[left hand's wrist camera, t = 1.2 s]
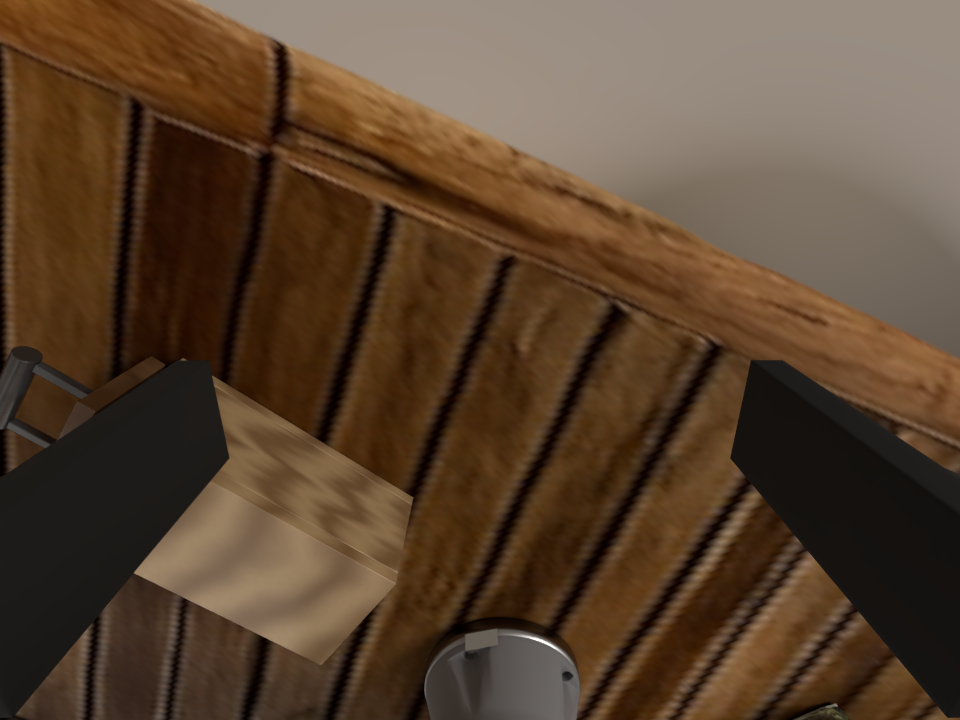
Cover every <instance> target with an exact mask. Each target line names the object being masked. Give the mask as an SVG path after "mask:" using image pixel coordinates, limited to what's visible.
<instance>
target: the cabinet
mask: <svg viewBox="0 0 960 720" xmlns="http://www.w3.org/2000/svg"><path fill="white" fill-rule="evenodd" d="M181 360H186V359H184V358H182V359H181ZM212 377H213V382H214V387H215V392H216V396H217V401H218V406H219V410H220V415H221V420H222V425H223V429H224V434H225V439H226V443H227V448H228V453H229V457H230V458H229V460H228V461H227V462H226V463H225V464H224V466H223V467H222V468H221V469H220V470H219V472H218V473H217V474H216V475H215V476H214V477H213V479H212V480H211V481H210V482H209V483H208V485H207V486H206V487H205V488H204V489H203V491H202V492H201V493H200V494H199V495H198V497H197V498H196V499H195V500H194V501H193V503H192V504H191V505H190V506H189V507H188V509H187V510H186V511H185V512H184V513H183V515H182V516H181V517H180V518H179V519H178V521H177V522H176V523H175V524H174V525H173V526H172V528H171V529H170V530H169V531H168V532H167V534H166V535H165V536H164V537H163V538H162V540H161V541H160V542H159V543H158V544H157V546H156V547H155V548H154V549H153V550H152V552H151V553H150V554H149V555H148V556H147V558H146V559H145V560H144V561H143V562H142V564H141V565H140V566H139V567H138V568H137V570H136V571H135V572H134V573H135V574H137V575H139V576H141V577H143V578H145V579H147V580H149V581H151V582H153V583H155V584H157V585H159V586H161V587H163V588H165V589H167V590H169V591H171V592H173V593H175V594H177V595H179V596H182V597H184V598H186V599H188V600H190V601H192V602H194V603H196V604H198V605H200V606H202V607H204V608H206V609H208V610H210V611H212V612H214V613H216V614H218V615H220V616H222V617H224V618H226V619H228V620H230V621H232V622H234V623H236V624H238V625H240V626H243V627H245V628H247V629H249V630H251V631H253V632H255V633H257V634H259V635H261V636H263V637H265V638H267V639H269V640H271V641H273V642H275V643H277V644H279V645H281V646H283V647H285V648H287V649H289V650H291V651H293V652H295V653H297V654H299V655H301V656H304V657H306V658H308V659H310V660H312V661H314V662H316V663H318V664H320V665H322V664H323V663H324V662H325V660H326V659H327V658H328V657H329V656H330V655H331V654H332V653H333V652H334V651H335V650H336V648H337V647H338V646H339V645H340V644H341V643H342V642H343V641H344V640H345V639H346V638H347V637H348V635H349V634H350V633H351V632H352V631H353V630H354V629H355V628H356V627H357V626H358V625H359V624H360V622H361V621H362V620H363V619H364V618H365V617H366V616H367V615H368V614H369V613H370V612H371V611H372V609H373V608H374V607H375V606H376V605H377V604H378V603H379V602H380V601H381V600H382V599H383V598H384V596H385V595H386V594H387V593H388V592H389V591H390V590H391V589H392V588H393V587H394V586H395V585H396V582H397V577H398V571H399V566H400V561H401V556H402V551H403V546H404V541H405V536H406V531H407V526H408V520H409V515H410V510H411V505H412V501H413V497H411V496H410V495H408V494H406V493H405V492H403V491H402V490H400V489H398V488H397V487H395V486H393V485H392V484H390V483H388V482H387V481H385V480H383V479H382V478H380V477H378V476H377V475H375V474H374V473H372V472H370V471H369V470H367V469H365V468H364V467H362V466H360V465H359V464H357V463H355V462H354V461H352V460H350V459H349V458H347V457H346V456H344V455H342V454H341V453H339V452H337V451H336V450H334V449H332V448H331V447H329V446H327V445H326V444H324V443H322V442H321V441H319V440H318V439H316V438H314V437H313V436H311V435H309V434H308V433H306V432H304V431H303V430H301V429H299V428H298V427H296V426H294V425H293V424H291V423H290V422H288V421H286V420H285V419H283V418H281V417H280V416H278V415H276V414H275V413H273V412H271V411H270V410H268V409H266V408H265V407H263V406H261V405H260V404H258V403H257V402H255V401H253V400H252V399H250V398H248V397H247V396H245V395H243V394H242V393H240V392H238V391H237V390H235V389H233V388H232V387H230V386H229V385H227V384H225V383H224V382H222V381H220V380H219V379H217V378H215V377H214V376H212Z"/></svg>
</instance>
